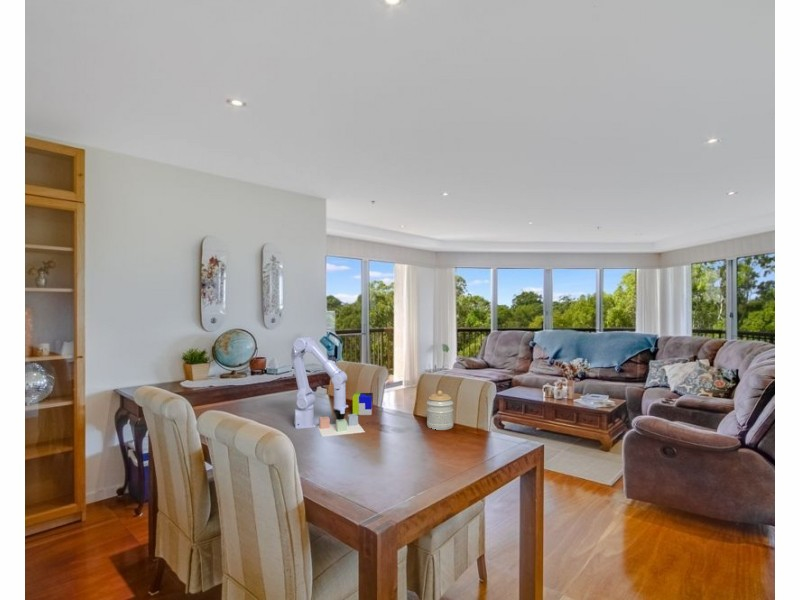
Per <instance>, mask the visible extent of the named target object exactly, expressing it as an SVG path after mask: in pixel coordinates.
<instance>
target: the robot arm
mask: <svg viewBox="0 0 800 600" xmlns="http://www.w3.org/2000/svg"><path fill="white" fill-rule="evenodd" d="M291 346H292V348H291V352H290V357H291V362H292V366H293V370H294V376H295V379H296V385H297V389H298V390H297V393H296V407H297V408H295V409H294V421H293V424H294V428H295V429H296V430H299V429H309V428H315V427H316V426H317V425H316V424H315V414H314V413H315V410H314V409H315V406H314V404H316V401H317V397H316V395H315V394H314V392H313V389H312V388H311V387H310V385H309V379H308V374H307V371H306V366H305V361H304V355H305V354H306V353H311V354H312V355H313V356H314V357H315V358H316V359H317V360H318V361H319V362H320V363H321V364H322V369H323V370H324V372H325V373H326V374H327V375H328V376H329V378H330V379H331V384H332V385H333V412H334V413H333V414H335V420H339V419H345V416H346V414H347V411H346V409H347V408H349V405H348V404H347V401H346V400H347V399H346V398H347V393H346V390H347V389H346V388H347V386H346V381H348V375H347V373H346V372H345V371H343V370H342V369H341V368H339V367H338V366H337V364H336V361H334V360H332V359H329V358H327V356H326V355H325V354H324V352H323V351H322V350H321V349H320V347H319V346H318V345H317V342H316V341H315V340H314V339H313V338H312V336H303V337H297V338H296V339H295V340H294V341H293V342H292V345H291Z"/></svg>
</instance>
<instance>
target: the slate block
mask: <svg viewBox="0 0 800 600" xmlns="http://www.w3.org/2000/svg"><path fill="white" fill-rule="evenodd" d="M346 416H347V417H346V421H347V424H348V425H349V426H355V425H358V424H359V415H357V414H353V413H350V414H349V413H348V414H347V415H346Z"/></svg>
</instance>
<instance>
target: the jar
mask: <svg viewBox="0 0 800 600" xmlns="http://www.w3.org/2000/svg"><path fill="white" fill-rule="evenodd" d="M426 405H427V407H426V413H427V414H426V417H427V418H426V425H427V428H429V429H431V428H432V429H431V430H435V429H436V430H437V431H446V430H450V429H452V428H453V427H454V408H453V405H454V402H453V400H452V397H451V396H450V395H449V394H448V393H443V391H442V390H438V391H437V392H436V393H433V394H431V395H429V396H428V400H427V401H426Z"/></svg>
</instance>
